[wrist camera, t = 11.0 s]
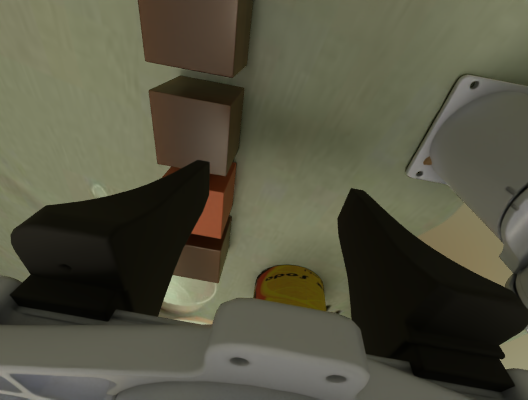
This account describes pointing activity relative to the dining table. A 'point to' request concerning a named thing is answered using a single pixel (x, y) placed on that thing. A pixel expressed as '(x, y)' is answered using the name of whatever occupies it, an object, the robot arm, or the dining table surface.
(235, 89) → the walnut block
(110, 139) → the dining table surface
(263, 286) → the beverage can
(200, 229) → the terracotta block
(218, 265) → the walnut block
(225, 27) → the walnut block
